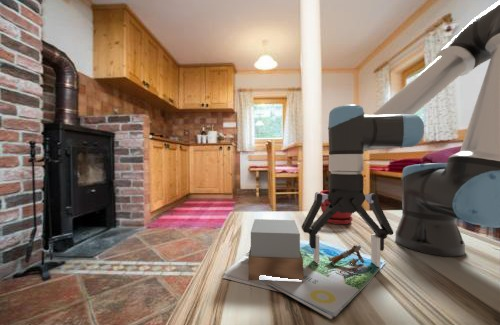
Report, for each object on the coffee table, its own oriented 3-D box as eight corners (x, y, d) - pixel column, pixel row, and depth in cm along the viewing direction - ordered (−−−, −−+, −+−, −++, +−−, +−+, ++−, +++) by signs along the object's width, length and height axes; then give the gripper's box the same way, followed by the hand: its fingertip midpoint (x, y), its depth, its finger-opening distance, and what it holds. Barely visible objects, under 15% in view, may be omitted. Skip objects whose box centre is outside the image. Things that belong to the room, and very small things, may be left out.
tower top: (294, 240, 53) (294, 220, 53) (299, 258, 43) (299, 233, 43) (254, 238, 54) (254, 219, 54) (250, 256, 44) (250, 232, 44)
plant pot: (313, 218, 89) (313, 190, 89) (339, 216, 93) (338, 189, 93) (334, 228, 77) (334, 195, 77) (362, 224, 81) (362, 193, 81)
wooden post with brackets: (369, 262, 49) (361, 244, 49) (338, 277, 49) (330, 259, 49) (364, 258, 51) (357, 241, 51) (334, 273, 50) (327, 256, 50)
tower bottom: (295, 259, 53) (295, 239, 53) (303, 284, 42) (303, 259, 42) (252, 257, 54) (252, 238, 54) (248, 281, 43) (248, 257, 43)
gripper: (391, 172, 52) (391, 257, 53) (290, 172, 55) (290, 253, 55) (412, 173, 45) (412, 273, 45) (294, 173, 47) (294, 268, 47)
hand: (345, 262), depth 50 cm, fingers open, 13 cm apart
